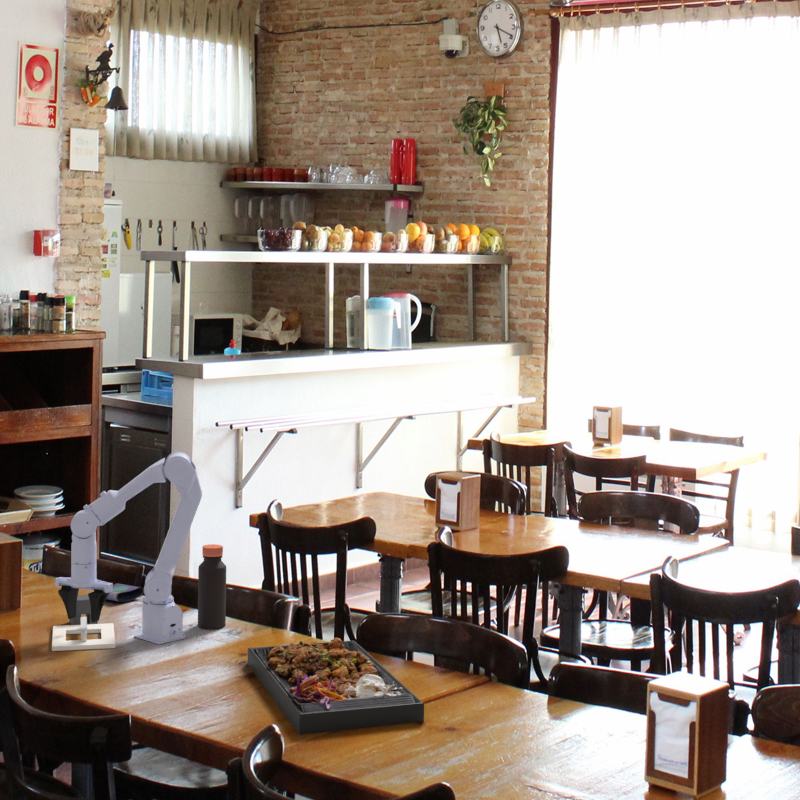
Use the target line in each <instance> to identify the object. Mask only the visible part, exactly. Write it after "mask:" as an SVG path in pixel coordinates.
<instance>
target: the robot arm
mask: <svg viewBox="0 0 800 800" xmlns="http://www.w3.org/2000/svg"><path fill="white" fill-rule="evenodd" d="M167 480H168V481H169V482H170V483H171V484H172V485H174V486H175V487H176V489H177V492H178V493H179V495H180V499H179V501H178V504H177V507H176V510H175V512H174V515H173V518H172V520H171V523H170V525H169V529H168V530H167V534H166V537H165V539H164V541H163V545H162V547H161V549H160V552H159V554H158V557H157V559H156V562H155V565H154V567H153V568H152V569H151V570H150V571H149V572H148V573H147V575H146V577H145V580H144V587H143V594H144V597H142V608H141V609H142V611H141V612H142V615H141V616H142V617H141V618H142V623H141V626H142V627H141V631H142V632H140V633H136V634H134V638H137V639H141V640H143V641H147V642H150V643H152V644H156V645H162V644H167V643H171V642H175V641H179V640H183V639H185V638H186V636H185V635H183V627H184V626H183V625H184V624H183V620H184V619H183V618H184V617H183V616H184V615H183V614H184V613H183V610H182V608H181V607H180V606H179V605H177V604H176V603H175V601H174V599H175V597H174V595H172V585H173V577H174V574H175V571H176V566H177V564H178V561H179V559H180V556H181V553H182V551H183V548H184V545H185V543H186V539H187V538H188V534H189V532H190V529H191V526H192V524H193V522H194V519H195V517H196V514H197V512H198V511H197V510H198V508H199V505H200V503H201V500H202V496H203V492H202V491H203V489H202V487H201V484H200V480H199V476H198V472H197V469H196V465H195V464H194V461H193V460H192V459H191V457H190V456H189V455H188V454H187V453H185V452H183V451H174V452H171V453H170V454H169V455H167V457H163V458H161V459H160V460H158V461H156V462H154V463H153V464H151V465H150V466H148V467H147V468H145V470H143V471H142V472H141V473H140V474H138V475H137V476H135V477H134V478H133V479H132V480H130V481H129V482H128V483H126V484H125V485H123V486H122V487H121V488H119V490H115V489H114V490H113V489H109V490H107V492H106V490H103V491H102V492H100V494H99V496H100V497H98V498H97V499H95V500H94V501H93V502H91V503H90V504H87V503H86V504H85V505H83V509H82V510H79V511H77V512H76V513H75V514H74V516H73V517H72V519H71V521H70V530H71V533H72V535H71V541H72V542H71V543H70V545H71V550H70V551H71V552H70V553H71V555H70V556H71V558H70V559H71V561H70V562H71V564H70V566H71V567H70V573H71V574H70V577H65V576H59V577H55V581H54V582H55V584H54V586H55V587H57V588H59V587H61V588H60V589H58V590H57V593H58V595H59V597H60V598H61V600H62V602H63V605H64V608H65V611H66V615H67V619H68V620H69V619H72V618H74V617H76V603H77V596H78V595H79V590H87V591H88V590H89V591H91V592H89V593H87V595H88V596H89V600H90V605H91V621H92V622H96V621H98V622H99V621H100V617H101V613H102V610H103V607H104V605H105V602H106V601H107V599H106V598H107V597H108V595H109V592H112V591H113V585H114V584H113V583H114V582H108V581H104V580H101V579H98V578H97V565H98V564H97V563H98V562H97V561H98V560H97V559H98V557H97V554H98V549H97V540H96V536H97V534H96V533H97V528H98V527H100V526H101V527H102V526H104V525H105V524H106V523H108V522H109V521H112V520H113V518H115V517H116V516H118V515H119V514H121V513H122V512H124V510H126V503H127V501H129V500H130V499H132V498H134V497H135V496H136V495H138V494H139V493H141V492H143V491H144V490H145V489H147V488H149V487H150V486H151V485H153V484H157V483H166V482H167Z"/></svg>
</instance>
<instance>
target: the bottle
mask: <svg viewBox="0 0 800 800" xmlns="http://www.w3.org/2000/svg"><path fill="white" fill-rule="evenodd" d="M223 551H224V546H223V545H222V544H216V543H215V544H214V543H213V544H205V545H204V544H203V546H202V558H203V561H202V562H201V563H200V564H199V565H198V572H197V573H198V574H197V576H198V581H197V583H198V584H197V585H198V586H197V593H198V594H197V627H198V628H199V629H202V630H207V631H208V630H211V631H213V630H220V629H223V628H225V627H226V617H227V614H226V612H227V609H226V608H227V603H226V602H227V565H226V564H225V563H224V562H223V561H222V558H223V555H224V553H223Z"/></svg>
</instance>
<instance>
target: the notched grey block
mask: <svg viewBox="0 0 800 800" xmlns="http://www.w3.org/2000/svg"><path fill="white" fill-rule="evenodd" d="M82 615H85V617H87V624H99V623H98V622H99V621H96V622H92V621H91V605H90V600H89V596H88V594H81V595H79V594H78V596H77V603H76V617H74V618H72V619H68V621H69V623H70V625H81V617H82Z"/></svg>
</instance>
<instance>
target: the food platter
mask: <svg viewBox="0 0 800 800" xmlns="http://www.w3.org/2000/svg"><path fill="white" fill-rule="evenodd" d="M247 666H248V667H249V668H250V670H251V672H252V673H253V674H254V675H255V676H256V678H257V680H258V681H259V682H260V683H261V685H262V686H263V687H264V689H265V690H266V691H267V693H268V694H269V695H270V697H271V699H273V701H274V702H275V704H276V705H277V706H278V708H279V710H280V711H281V713H283V715H284V717H286V719H287V720H288V722H289V723H290V724H291V726H292V727H293V729H294V730H295V731H296V733H297V734H298V736H302V735H303V736H304V735H313V734H321V733H331V732H338V731H341V732H342V731H348V730H358V729H367V728H377V727H385V726H387V727H388V726H393V725H395V726H396V725H405V724H412V723H423V722H425V721H424V720H425V703H424V702H423V701H422V700H421V699H419V697H417V696H416V695H415V694H414V693H413V692H412V691H411V690H409V688H407V687H406V686H405V685H404V684H403V683H402V682H401V681H399V679H398V678H397V677H395V675H393V674H392V673H391V672H390V671H389V670H387V668H385V667H384V666H383V665H382V664H381V663H379V661H378V660H377V659H376V658H374V657H373V656H372V655H371V654H370V653H369V652H367V651H366V650H365V648H363V647H362V646H361V645H360V644H358V643H357V641H355V640H342V639H341V638H340V637H334V638H332V639H331V640H330V641H328V642H317V641H310V642H308V641H306V642H305V641H303V640H300V641H299V642H298V644H294V643H293V642H291V643H289V644H285V645H273V646H272V645H271V646H260V647H259V646H258V647H248V648H247Z"/></svg>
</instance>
